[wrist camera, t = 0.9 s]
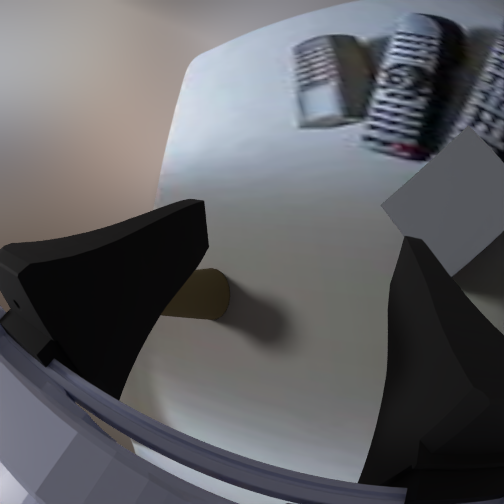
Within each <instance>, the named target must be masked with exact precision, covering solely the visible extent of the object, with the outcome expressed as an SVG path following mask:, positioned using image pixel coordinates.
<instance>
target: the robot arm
mask: <svg viewBox="0 0 504 504" xmlns="http://www.w3.org/2000/svg"><path fill="white" fill-rule="evenodd" d="M208 248H209V243H208V234H207V224H206V214H205V204H204V201H203V200H195V199H187V200H182V201H179V202H176V203H172V204H169V205H167V206H164V207H161V208H158V209H156V210H153V211H150V212H148V213H145V214H142V215H139V216H137V217H134V218H131V219H128V220H126V221H123V222H120V223H117V224H114V225H111V226H108V227H105V228H101V229H97V230H94V231H90V232H86V233H82V234H77V235H73V236H68V237H64V238H58V239H52V240H45V241H36V242H23V243H11V244H8V245H5V246H4V247H2V248H1V249H0V291H1V293H2V294H3V296H4V298H5V300H6V301H7V303H8V305H9V307H10V308H11V309H10V310H9V311H8V312H7V313H6V312H5V311H4V310H3V308H2V307H1V306H0V504H238V503H236V502H233V501H230V500H228V499H225V498H223V497H220V496H218V495H215V494H213V493H211V492H208V491H206V490H204V489H202V488H199V487H197V486H195V485H193V484H191V483H189V482H186V481H184V480H182V479H180V478H178V477H176V476H174V475H172V474H170V473H168V472H166V471H165V470H163V469H161V468H159V467H157V466H155V465H153V464H152V463H150V462H148V461H146V460H144V459H143V458H141V457H139V456H137V455H136V454H134V453H132V452H131V451H129V450H127V449H125V448H124V447H123V446H121V445H119V444H118V443H116V441H115V440H114V439H113V438H111V436H109V435H108V434H107V433H106V432H104V431H103V430H102V429H101V428H100V427H99V426H98V425H97V424H96V423H95V422H94V421H93V420H92V419H91V417H90V416H89V415H88V414H87V413H86V412H85V411H84V410H83V409H81V408H80V407H79V406H78V405H77V404H76V403H78V404H79V405H80V406H82V407H83V408H85V409H86V410H88V411H89V412H90V413H92V414H93V415H95V416H96V417H98V418H99V419H101V420H102V421H104V422H106V423H107V424H109V425H110V426H112V427H113V428H115V429H117V430H118V431H120V432H122V433H123V434H125V435H127V436H128V437H130V438H132V439H134V440H135V441H137V442H139V443H141V444H143V445H144V446H146V447H148V448H150V449H152V450H154V451H156V452H158V453H160V454H162V455H164V456H166V457H168V458H170V459H172V460H174V461H176V462H178V463H180V464H183V465H185V466H187V467H189V468H192V469H194V470H196V471H199V472H201V473H203V474H206V475H208V476H211V477H213V478H216V479H219V480H221V481H224V482H227V483H229V484H232V485H235V486H238V487H241V488H244V489H247V490H250V491H253V492H257V493H260V494H263V495H267V496H270V497H274V498H278V499H282V500H285V501H290V502H294V503H298V504H504V335H503V334H502V333H501V332H500V331H499V330H498V329H497V328H496V327H495V326H494V325H493V324H492V323H491V322H490V321H489V320H488V319H487V318H486V317H485V316H484V315H483V314H482V313H481V312H480V311H479V310H478V309H477V307H476V306H475V305H474V304H473V303H472V302H471V301H470V300H469V298H468V297H467V296H466V295H465V294H464V292H463V291H462V290H461V289H460V287H459V286H458V285H457V284H456V283H455V281H454V280H453V279H452V277H451V276H450V275H449V274H448V272H447V271H446V270H445V268H444V267H443V266H442V264H441V263H440V262H439V260H438V259H437V258H436V256H435V255H434V254H433V252H432V251H431V250H430V248H429V247H428V246H427V245H426V243H425V242H424V241H423V240H422V239H419V238H414V237H410V236H405V237H404V240H403V244H402V247H401V251H400V254H399V258H398V261H397V264H396V268H395V271H394V274H393V277H392V280H391V283H390V292H389V302H388V360H387V374H386V381H385V386H384V392H383V398H382V403H381V407H380V412H379V416H378V420H377V425H376V428H375V432H374V436H373V439H372V443H371V446H370V450H369V453H368V456H367V459H366V462H365V465H364V468H363V470H362V473H361V476H360V478H359V481H358V483H352V482H345V481H339V480H333V479H328V478H323V477H318V476H313V475H308V474H304V473H300V472H295V471H291V470H287V469H284V468H280V467H276V466H273V465H269V464H266V463H262V462H259V461H256V460H253V459H249V458H246V457H243V456H240V455H237V454H235V453H232V452H229V451H226V450H223V449H221V448H218V447H215V446H213V445H210V444H208V443H205V442H203V441H200V440H198V439H195V438H193V437H191V436H188V435H186V434H184V433H182V432H179V431H177V430H175V429H173V428H171V427H168V426H166V425H164V424H162V423H160V422H158V421H156V420H154V419H152V418H150V417H148V416H146V415H144V414H142V413H140V412H139V411H137V410H135V409H133V408H131V407H129V406H127V405H126V404H124V403H122V402H120V401H119V399H120V396H121V394H122V391H123V388H124V386H125V383H126V381H127V378H128V376H129V373H130V371H131V369H132V367H133V365H134V363H135V360H136V358H137V356H138V354H139V352H140V350H141V348H142V346H143V344H144V343H145V341H146V339H147V337H148V335H149V333H150V332H151V330H152V328H153V326H154V325H155V323H156V321H157V320H158V318H159V316H160V315H161V313H162V312H163V311H164V309H165V308H166V306H167V305H168V304H169V303H170V301H171V300H172V299H173V297H174V296H175V295H176V294H177V292H178V291H179V290H180V289H181V287H182V286H183V285H184V284H185V282H186V281H187V280H188V279H189V277H190V276H191V275H192V273H193V272H194V271H195V269H196V268H197V267H198V265H199V264H200V262H201V260H202V259H203V257H204V255H205V253H206V251H207V249H208ZM75 402H76V403H75ZM287 504H291V503H287Z"/></svg>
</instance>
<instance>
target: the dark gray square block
mask: <svg viewBox="0 0 504 504" xmlns="http://www.w3.org/2000/svg"><path fill="white" fill-rule="evenodd" d="M381 207H382V208H383V209H384V210H385V212H386V213H387V214H388V216H389V217H390V218H391V220H392V221H393V222H394V224H395V225H396V226H397V228H398V229H399V230H400V232H401V233H402V234H403V236H404V237H405V236H410V237H414V238H419V239H422V240H423V241H424V242H425V243H426V245H427V246H428V247H429V248H430V250H431V251H432V252H433V254H434V255H435V256H436V258H437V259H438V260H439V262H440V263H441V264H442V266H443V267H444V268H445V270H446V271H447V272H448V274H449V275H450V276H451V277H452V276H453V275H454V274H456V273H457V272H458V271H459V270H460V269H462V268H463V267H464V266H465V265H466V264H468V263H469V262H470V261H471V260H472V259H473V258H475V257H476V256H477V255H478V254H479V253H480V252H481V251H482V250H484V249H485V248H486V247H487V246H488V245H489V244H490V243H491V242H492V241H493V240H494V239H496V238H497V237H498V236H499V235H500V234H501V233H502V232H503V231H504V163H503V162H502V161H501V160H500V158H499V157H498V156H497V155H496V154H495V153H494V152H493V150H492V149H491V148H490V147H489V146H488V145H487V144H486V143H485V142H484V141H483V140H482V139H481V138H480V137H479V136H478V135H477V134H476V133H475V131H474V130H473V129H471V128H470V127H469V126H467V127H466V128H465V129H464V130H463V131H462V132H461V133H460V134H459V135H458V136H457V137H456V138H455V139H454V140H452V141H451V142H450V143H449V144H448V145H447V146H446V147H445V148H444V149H443V150H442V151H441V152H440V153H439V154H437V155H436V156H435V157H434V158H433V159H432V160H431V161H430V162H429V163H428V164H426V165H425V166H424V167H423V168H422V169H421V170H420V171H419V172H418V173H416V174H415V175H414V176H413V177H412V178H411V179H410V180H409V181H408V182H406V183H405V184H404V185H403V186H402V187H401V188H400V189H398V190H397V191H396V192H395V193H394V194H393V195H392V196H390V197H389V198H388V199H387V200H386V201H385V202H383V203H382V204H381Z"/></svg>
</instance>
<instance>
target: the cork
mask: <svg viewBox="0 0 504 504" xmlns="http://www.w3.org/2000/svg"><path fill="white" fill-rule="evenodd" d="M229 299H230V290H229V285H228V282H227V279H226V278H225V277H224V275H223V274H222V273H221V272H220V271H218V270H217V269H213V268H209V269H200V270H195V271H194V272H193V273H192V275H191V276H190V277H189V279H188V280H187V281H186V282H185V284H184V285H183V286H182V287H181V289H180V290H179V291H178V292H177V294H176V295H175V296H174V297H173V299H172V300H171V301H170V303H169V304H168V305H167V306H166V308H165V309H164V311H163V312H162V313H161V315H163V316H174V317H184V318H196V319H208V320H212V319H217V318H219V317H221V316H222V315H223V314H224V313H225V311H226V309H227V307H228V305H229Z"/></svg>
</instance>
